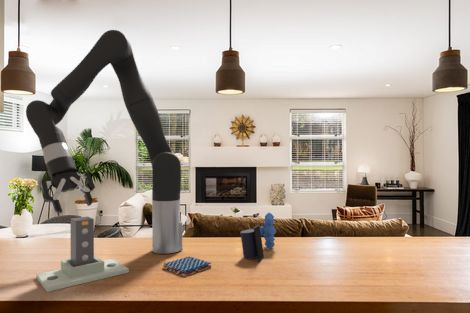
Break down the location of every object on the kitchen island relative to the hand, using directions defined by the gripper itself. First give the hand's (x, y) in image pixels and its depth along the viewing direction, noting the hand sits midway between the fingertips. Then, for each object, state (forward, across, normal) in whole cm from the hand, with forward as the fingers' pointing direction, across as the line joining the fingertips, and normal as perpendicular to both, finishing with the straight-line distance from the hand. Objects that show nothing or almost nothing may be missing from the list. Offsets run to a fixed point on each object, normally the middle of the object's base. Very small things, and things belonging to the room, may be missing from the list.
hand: (75, 208), depth 100 cm
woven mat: (+30, +18, -17) cm, 39 cm away
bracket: (+19, -5, -5) cm, 21 cm away
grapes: (+35, +50, -17) cm, 63 cm away
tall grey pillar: (+18, -5, -5) cm, 19 cm away
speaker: (+35, +38, -22) cm, 56 cm away
